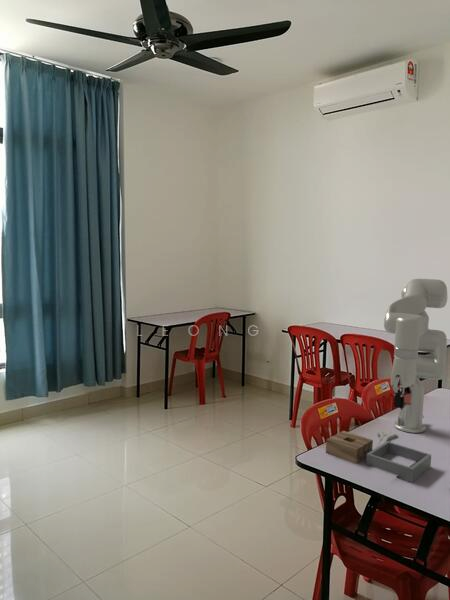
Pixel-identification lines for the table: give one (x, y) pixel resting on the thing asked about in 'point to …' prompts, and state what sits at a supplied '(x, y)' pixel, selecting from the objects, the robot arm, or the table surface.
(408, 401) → the red knob with stem
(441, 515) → the table surface
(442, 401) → the table surface
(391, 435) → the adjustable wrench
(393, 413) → the table surface
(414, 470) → the tray
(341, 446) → the eye block
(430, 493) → the table surface
